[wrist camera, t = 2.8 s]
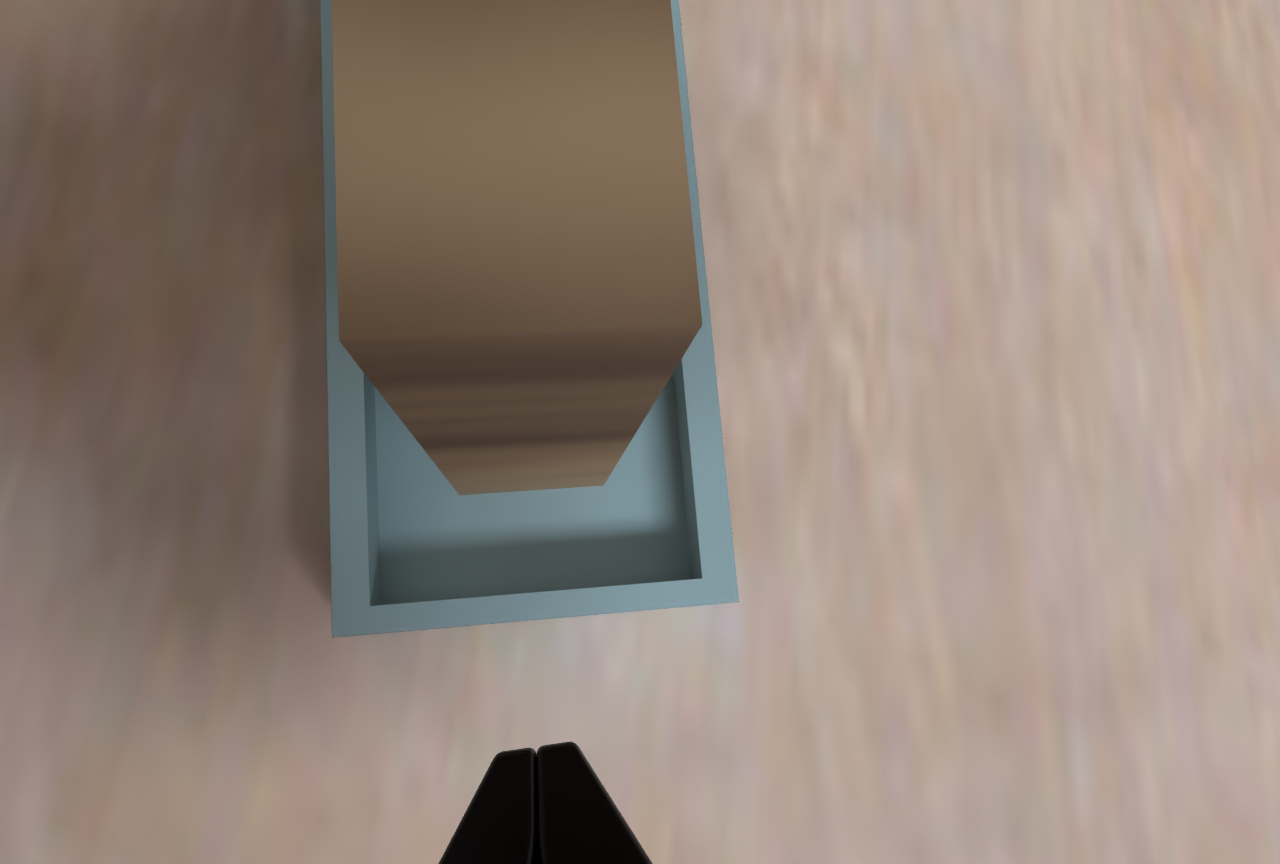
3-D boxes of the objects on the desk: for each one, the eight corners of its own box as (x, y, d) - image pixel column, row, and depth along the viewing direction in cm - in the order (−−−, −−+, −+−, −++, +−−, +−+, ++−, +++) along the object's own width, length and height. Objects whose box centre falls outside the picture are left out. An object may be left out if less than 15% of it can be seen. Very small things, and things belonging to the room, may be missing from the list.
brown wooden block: (603, 485, 21) (702, 324, 9) (459, 495, 21) (338, 340, 8) (575, 114, 23) (623, -475, 10) (442, 116, 23) (321, -498, 10)
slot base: (720, 601, 22) (756, 602, 18) (351, 633, 20) (313, 641, 17) (650, -123, 25) (669, -238, 22) (334, -131, 24) (300, -254, 21)
